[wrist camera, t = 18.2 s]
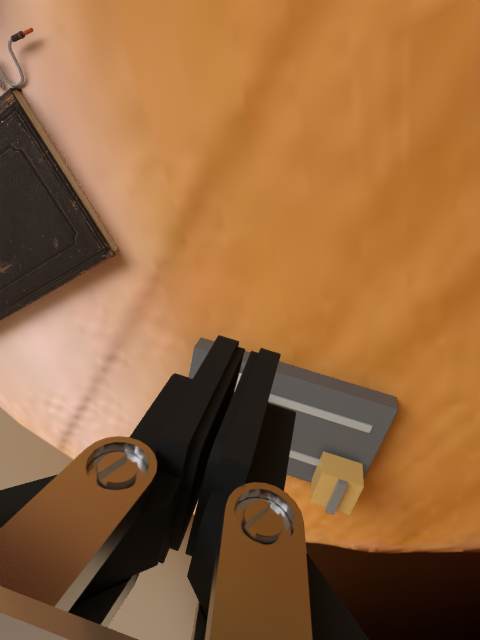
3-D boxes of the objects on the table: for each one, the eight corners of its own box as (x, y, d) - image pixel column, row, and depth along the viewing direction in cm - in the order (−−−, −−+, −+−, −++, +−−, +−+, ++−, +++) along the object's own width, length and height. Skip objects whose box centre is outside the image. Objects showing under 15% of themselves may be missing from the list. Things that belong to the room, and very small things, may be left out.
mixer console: (395, 397, 40) (398, 410, 38) (354, 482, 46) (354, 498, 44) (200, 337, 42) (193, 347, 41) (183, 426, 48) (176, 439, 46)
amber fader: (362, 463, 41) (364, 491, 38) (349, 491, 43) (349, 520, 40) (323, 451, 42) (321, 477, 39) (311, 478, 44) (309, 506, 41)
